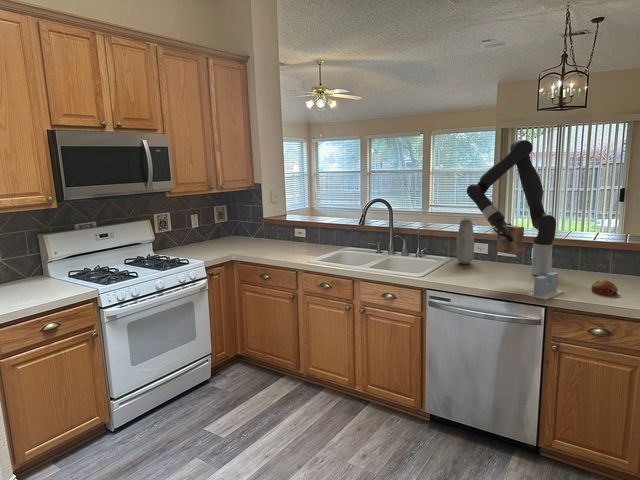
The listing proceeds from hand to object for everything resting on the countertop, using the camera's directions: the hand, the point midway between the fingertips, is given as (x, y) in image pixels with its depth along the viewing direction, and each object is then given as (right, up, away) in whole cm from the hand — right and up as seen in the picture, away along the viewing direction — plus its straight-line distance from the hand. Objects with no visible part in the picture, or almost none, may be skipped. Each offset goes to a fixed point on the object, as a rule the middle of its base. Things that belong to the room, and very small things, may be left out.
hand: (513, 241), depth 216 cm
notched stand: (+8, -25, -16) cm, 30 cm away
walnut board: (-1, -6, +3) cm, 7 cm away
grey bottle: (-9, -14, +47) cm, 50 cm away
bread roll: (+36, -25, -16) cm, 46 cm away
